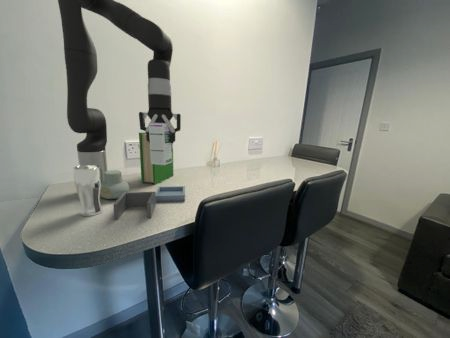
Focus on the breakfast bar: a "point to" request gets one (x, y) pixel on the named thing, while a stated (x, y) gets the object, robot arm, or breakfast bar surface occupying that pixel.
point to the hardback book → (149, 170)
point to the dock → (135, 202)
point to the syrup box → (160, 144)
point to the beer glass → (88, 188)
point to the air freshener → (113, 185)
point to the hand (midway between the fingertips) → (161, 142)
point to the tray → (170, 194)
